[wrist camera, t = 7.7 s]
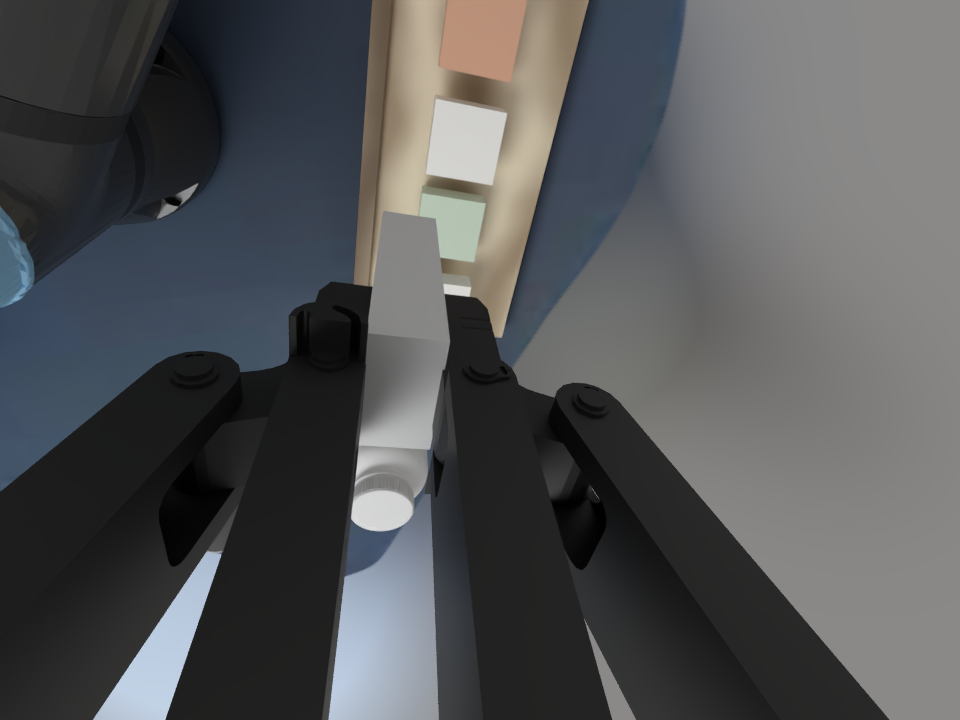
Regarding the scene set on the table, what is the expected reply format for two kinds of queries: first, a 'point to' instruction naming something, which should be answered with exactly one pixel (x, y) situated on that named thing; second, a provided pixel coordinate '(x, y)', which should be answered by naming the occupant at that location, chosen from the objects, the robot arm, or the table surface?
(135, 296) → the table surface
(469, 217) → the key sage
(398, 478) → the pill bottle
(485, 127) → the white key
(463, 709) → the robot arm
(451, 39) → the key terracotta
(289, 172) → the table surface
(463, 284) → the white key
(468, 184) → the keypad board
